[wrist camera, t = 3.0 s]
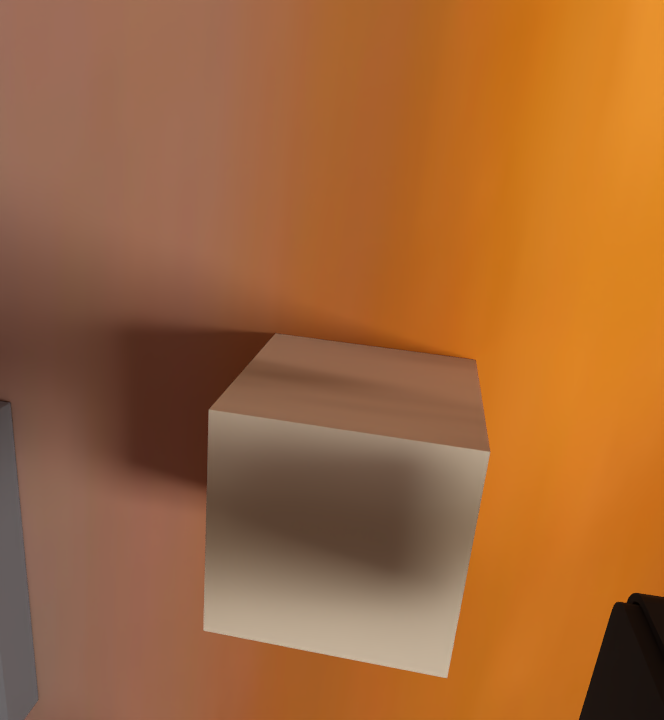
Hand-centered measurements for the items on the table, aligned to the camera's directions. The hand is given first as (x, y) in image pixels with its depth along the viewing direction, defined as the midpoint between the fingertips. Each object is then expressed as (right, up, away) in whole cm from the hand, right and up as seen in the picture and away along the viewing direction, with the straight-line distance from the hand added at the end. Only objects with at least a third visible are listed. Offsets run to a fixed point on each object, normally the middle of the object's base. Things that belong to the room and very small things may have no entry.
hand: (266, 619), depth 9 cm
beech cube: (+2, +2, +8) cm, 8 cm away
